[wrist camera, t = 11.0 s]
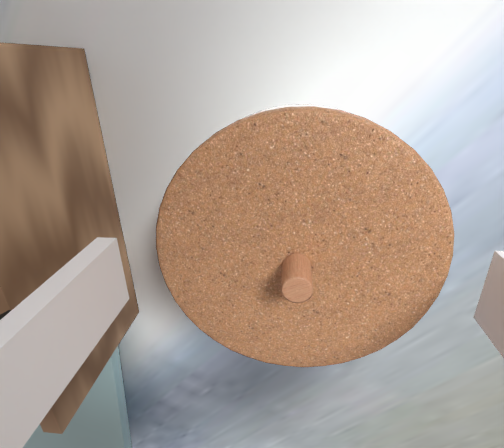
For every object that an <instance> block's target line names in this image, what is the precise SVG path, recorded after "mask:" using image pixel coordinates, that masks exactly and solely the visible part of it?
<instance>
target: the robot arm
mask: <svg viewBox="0 0 504 448" xmlns="http://www.w3.org/2000/svg"><path fill="white" fill-rule="evenodd" d="M128 300H129V294H128V290H127V285H126V280H125V275H124V270H123V266H122V261H121V256H120V251H119V246H118V242H117V238H103V237H97V238H96V239H95V240H94V241H92V242H91V243H90V244H89V245H88V246H87V247H85V248H84V249H83V250H82V251H81V252H79V253H78V254H77V255H76V256H75V257H74V258H72V259H71V260H70V261H69V262H68V263H67V264H65V265H64V266H63V267H62V268H61V269H60V270H58V271H57V272H56V273H55V274H54V275H53V276H51V277H50V278H49V279H48V280H47V281H45V282H44V283H43V284H42V285H41V286H40V287H38V288H37V289H36V290H35V291H34V292H33V293H31V294H30V295H29V296H28V297H27V298H26V299H24V300H23V301H22V302H21V303H20V304H19V305H17V306H16V307H15V308H14V309H13V310H8V311H6V312H4V313H2V314H0V448H23V446H24V445H25V444H26V442H27V441H28V439H29V438H30V437H31V435H32V434H33V432H34V431H35V430H36V428H37V427H38V426H39V424H40V423H41V421H42V420H43V419H44V417H45V416H46V414H47V413H48V412H49V410H50V409H51V407H52V406H53V405H54V403H55V402H56V400H57V399H58V398H59V396H60V395H61V393H62V392H63V391H64V389H65V388H66V386H67V385H68V384H69V382H70V381H71V379H72V378H73V377H74V375H75V374H76V372H77V371H78V370H79V368H80V367H81V365H82V364H83V363H84V361H85V360H86V358H87V357H88V356H89V354H90V353H91V352H92V350H93V349H94V347H95V346H96V345H97V343H98V342H99V340H100V339H101V338H102V336H103V335H104V333H105V332H106V331H107V329H108V328H109V326H110V325H111V324H112V322H113V321H114V319H115V318H116V317H117V315H118V314H119V312H120V311H121V310H122V308H123V307H124V305H125V304H126V303H127V301H128ZM474 318H475V320H476V321H477V323H478V324H479V325H480V327H481V328H482V329H483V331H484V332H485V333H486V335H487V336H488V337H489V339H490V340H491V342H492V343H493V344H494V346H495V347H496V348H497V350H498V351H499V352H500V354H501V355H502V357H503V358H504V251H495V252H494V255H493V258H492V261H491V264H490V267H489V271H488V274H487V277H486V280H485V283H484V286H483V289H482V293H481V296H480V299H479V302H478V305H477V308H476V311H475V314H474Z"/></svg>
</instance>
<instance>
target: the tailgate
mask: <svg viewBox="0 0 504 448" xmlns="http://www.w3.org/2000/svg"><path fill="white" fill-rule="evenodd" d="M23 448H132V443H131V436H130V429H129V421H128V414H127V407H126V399H125V392H124V385H123V377H122V370H121V362H120V355H119V348H118V346H117V348H116V349H115V351H114V353H113V354H112V356H111V357H110V359H109V360H108V362H107V364H106V365H105V367H104V368H103V370H102V372H101V373H100V375H99V376H98V378H97V380H96V381H95V383H94V384H93V386H92V388H91V389H90V391H89V392H88V394H87V396H86V397H85V399H84V400H83V402H82V404H81V405H80V407H79V408H78V410H77V412H76V413H75V415H74V416H73V418H72V419H71V421H70V423H69V424H68V426H67V427H66V429H65V431H64V432H63V434H57V433H47V432H43V430H42V428H41V426H40V424H39V426H38V427H37V428H36V430H35V431H34V432H33V434H32V435H31V437H30V438H29V439H28V441H27V442H26V444H25V445H24V446H23Z"/></svg>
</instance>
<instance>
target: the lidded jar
mask: <svg viewBox="0 0 504 448" xmlns="http://www.w3.org/2000/svg"><path fill="white" fill-rule="evenodd" d="M453 244H454V229H453V221H452V214H451V210H450V207H449V204H448V201H447V198H446V195H445V192H444V189H443V188H442V186H441V184H440V183H439V181H438V179H437V178H436V176H435V174H434V173H433V171H432V169H431V168H430V167H429V166H428V164H427V163H426V162H425V161H424V160H423V159H422V158H421V157H420V155H419V154H418V153H417V152H416V151H415V150H414V149H413V148H412V147H410V146H409V145H408V144H406V143H405V142H404V141H403V140H401V139H400V138H399V137H397V136H396V135H395V134H393V133H392V132H391V131H389V130H387V129H385V128H383V127H382V126H380V125H378V124H376V123H374V122H372V121H370V120H368V119H366V118H363V117H360V116H357V115H354V114H352V113H348V112H345V111H342V110H339V109H336V108H333V107H327V106H320V105H313V104H296V105H284V106H279V107H274V108H268V109H265V110H262V111H260V112H257V113H254V114H251V115H249V116H246V117H245V118H243V119H240V120H238V121H236V122H234V123H232V124H230V125H229V126H227V127H225V128H223V129H222V130H220V131H218V132H216V133H215V134H214V135H212V136H211V137H210V138H209V139H208V140H206V141H205V142H204V143H203V144H201V145H200V146H199V147H198V148H197V149H195V150H194V151H193V152H192V154H191V155H190V156H189V157H188V158H187V159H186V161H185V162H184V163H183V164H182V165H181V166H180V168H179V169H178V170H177V172H176V173H175V175H174V177H173V179H172V180H171V182H170V184H169V185H168V187H167V189H166V192H165V194H164V197H163V200H162V203H161V205H160V208H159V214H158V220H157V226H156V249H157V254H158V260H159V265H160V268H161V271H162V274H163V277H164V280H165V282H166V285H167V286H168V288H169V290H170V292H171V294H172V296H173V298H174V300H175V301H176V303H177V304H178V305H179V307H180V308H181V309H182V310H183V312H184V313H185V314H186V316H187V317H188V318H189V319H190V320H191V321H192V322H193V323H194V324H195V325H196V326H197V327H198V328H199V329H200V330H202V331H203V332H204V333H206V334H207V335H208V336H210V337H211V338H212V339H214V340H215V341H217V342H219V343H220V344H222V345H224V346H225V347H227V348H229V349H230V350H233V351H235V352H237V353H240V354H242V355H244V356H247V357H250V358H253V359H256V360H259V361H263V362H266V363H272V364H278V365H284V366H296V367H314V366H326V365H333V364H339V363H344V362H348V361H351V360H354V359H358V358H361V357H364V356H366V355H368V354H371V353H373V352H376V351H378V350H380V349H382V348H384V347H385V346H387V345H389V344H390V343H392V342H394V341H395V340H397V339H398V338H400V337H401V336H402V335H403V334H405V333H406V332H407V331H409V330H410V329H411V328H413V327H414V325H415V324H416V323H417V322H418V321H419V320H420V319H421V318H422V317H423V316H424V315H425V313H426V312H427V311H428V310H429V308H430V307H431V305H432V304H433V302H434V301H435V300H436V298H437V297H438V295H439V293H440V291H441V289H442V286H443V284H444V282H445V280H446V278H447V276H448V272H449V268H450V264H451V260H452V256H453Z"/></svg>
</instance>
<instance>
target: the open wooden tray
mask: <svg viewBox="0 0 504 448" xmlns="http://www.w3.org/2000/svg"><path fill="white" fill-rule="evenodd" d="M97 237H103V238H117V242H118V246H119V251H120V256H121V261H122V266H123V270H124V275H125V280H126V285H127V290H128V294H129V300H128V301H127V303H126V304H125V305H124V307H123V308H122V310H121V311H120V312H119V314H118V315H117V317H116V318H115V319H114V321H113V322H112V324H111V325H110V326H109V328H108V329H107V331H106V332H105V333H104V335H103V336H102V338H101V339H100V340H99V342H98V343H97V345H96V346H95V347H94V349H93V350H92V352H91V353H90V354H89V356H88V357H87V358H86V360H85V361H84V363H83V364H82V365H81V367H80V368H79V370H78V371H77V372H76V374H75V375H74V377H73V378H72V379H71V381H70V382H69V384H68V385H67V386H66V388H65V389H64V391H63V392H62V393H61V395H60V396H59V398H58V399H57V400H56V402H55V403H54V405H53V406H52V407H51V409H50V410H49V412H48V413H47V414H46V416H45V417H44V419H43V420H42V421H41V423H40V426H41V428H42V430H43V432H47V433H57V434H63V432H64V431H65V429H66V427H67V426H68V424H69V423H70V421H71V419H72V418H73V416H74V415H75V413H76V412H77V410H78V408H79V407H80V405H81V404H82V402H83V400H84V399H85V397H86V396H87V394H88V392H89V391H90V389H91V388H92V386H93V384H94V383H95V381H96V380H97V378H98V376H99V375H100V373H101V372H102V370H103V368H104V367H105V365H106V364H107V362H108V360H109V359H110V357H111V356H112V354H113V353H114V351H115V349H116V348H117V346H118V345H119V343H120V341H121V340H122V338H123V337H124V335H125V333H126V332H127V330H128V329H129V327H130V325H131V324H132V322H133V321H134V319H135V317H136V316H137V314H138V313H139V309H138V304H137V300H136V295H135V290H134V285H133V281H132V276H131V271H130V266H129V261H128V257H127V252H126V247H125V242H124V238H123V233H122V228H121V223H120V218H119V214H118V209H117V204H116V199H115V195H114V190H113V185H112V180H111V175H110V171H109V166H108V161H107V156H106V152H105V147H104V142H103V137H102V132H101V128H100V123H99V118H98V113H97V109H96V104H95V99H94V94H93V89H92V85H91V80H90V75H89V70H88V66H87V61H86V56H85V51H84V49H82V48H68V47H54V46H41V45H27V44H13V43H0V314H2V313H4V312H6V311H8V310H13V309H14V308H15V307H16V306H17V305H19V304H20V303H21V302H22V301H23V300H24V299H26V298H27V297H28V296H29V295H30V294H31V293H33V292H34V291H35V290H36V289H37V288H38V287H40V286H41V285H42V284H43V283H44V282H45V281H47V280H48V279H49V278H50V277H51V276H53V275H54V274H55V273H56V272H57V271H58V270H60V269H61V268H62V267H63V266H64V265H65V264H67V263H68V262H69V261H70V260H71V259H72V258H74V257H75V256H76V255H77V254H78V253H79V252H81V251H82V250H83V249H84V248H85V247H87V246H88V245H89V244H90V243H91V242H92V241H94V240H95V239H96V238H97Z"/></svg>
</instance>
